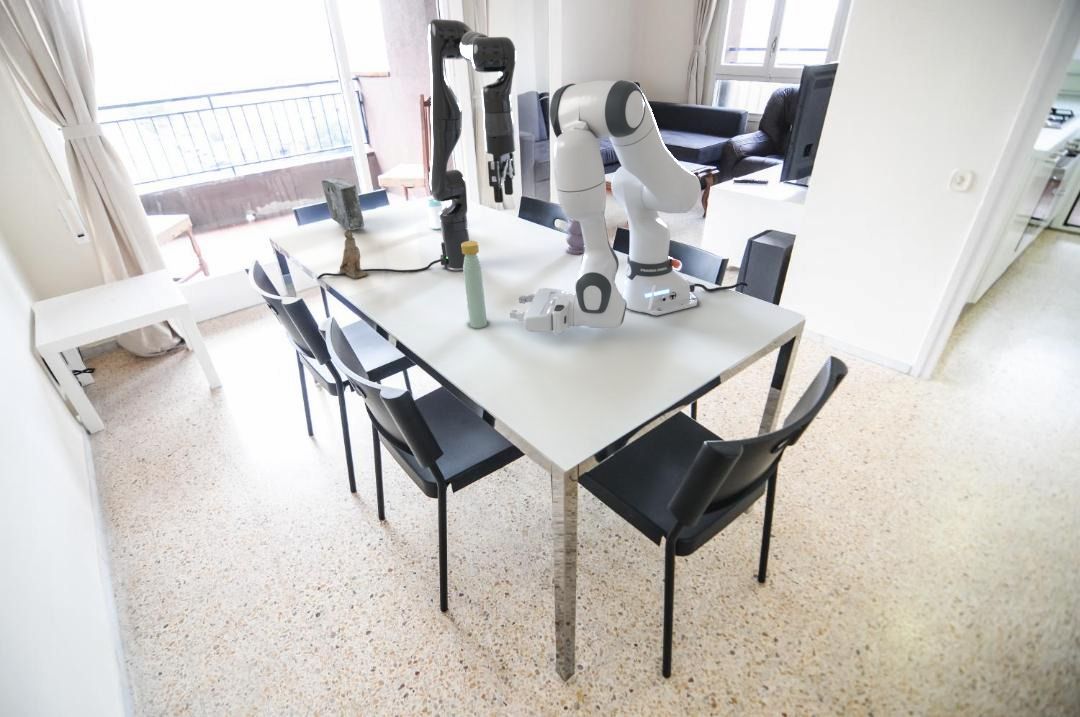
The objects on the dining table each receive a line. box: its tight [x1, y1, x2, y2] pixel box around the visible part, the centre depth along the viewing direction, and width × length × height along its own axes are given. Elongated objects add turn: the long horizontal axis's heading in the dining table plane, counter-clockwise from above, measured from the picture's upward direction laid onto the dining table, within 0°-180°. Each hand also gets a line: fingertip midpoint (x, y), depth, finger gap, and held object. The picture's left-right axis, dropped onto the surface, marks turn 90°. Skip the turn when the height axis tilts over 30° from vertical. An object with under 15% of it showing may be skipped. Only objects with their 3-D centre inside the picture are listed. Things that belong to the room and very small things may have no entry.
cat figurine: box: [565, 218, 585, 255], centre depth 187 cm, size 9×8×12 cm
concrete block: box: [321, 177, 365, 231], centre depth 223 cm, size 27×9×20 cm, turn 36°
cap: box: [461, 240, 480, 255], centre depth 130 cm, size 4×4×2 cm
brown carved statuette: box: [339, 230, 367, 280], centre depth 174 cm, size 12×6×18 cm, turn 43°
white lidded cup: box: [426, 198, 445, 230], centre depth 220 cm, size 7×7×12 cm
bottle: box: [462, 253, 488, 329], centre depth 135 cm, size 5×5×23 cm
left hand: (504, 198), depth 132 cm, fingers open, 8 cm apart
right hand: (515, 306), depth 136 cm, fingers open, 8 cm apart
